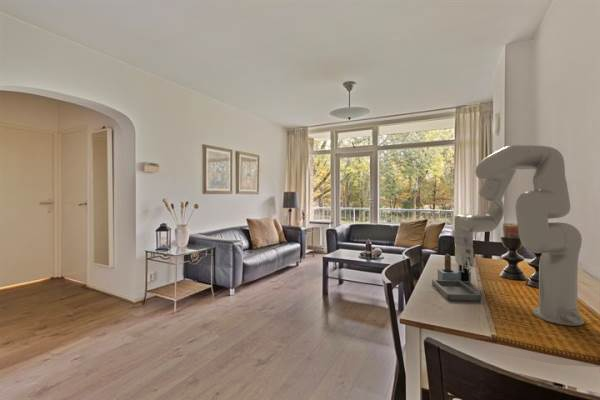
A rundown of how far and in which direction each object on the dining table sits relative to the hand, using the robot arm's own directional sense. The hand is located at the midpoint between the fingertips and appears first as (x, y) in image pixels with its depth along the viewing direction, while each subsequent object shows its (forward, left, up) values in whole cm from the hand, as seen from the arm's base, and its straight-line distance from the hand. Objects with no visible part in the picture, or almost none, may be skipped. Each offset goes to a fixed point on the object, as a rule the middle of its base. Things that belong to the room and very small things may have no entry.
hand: (463, 279), depth 136 cm
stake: (0, +7, -1) cm, 7 cm away
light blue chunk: (0, +4, -1) cm, 4 cm away
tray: (-16, +10, -1) cm, 19 cm away
